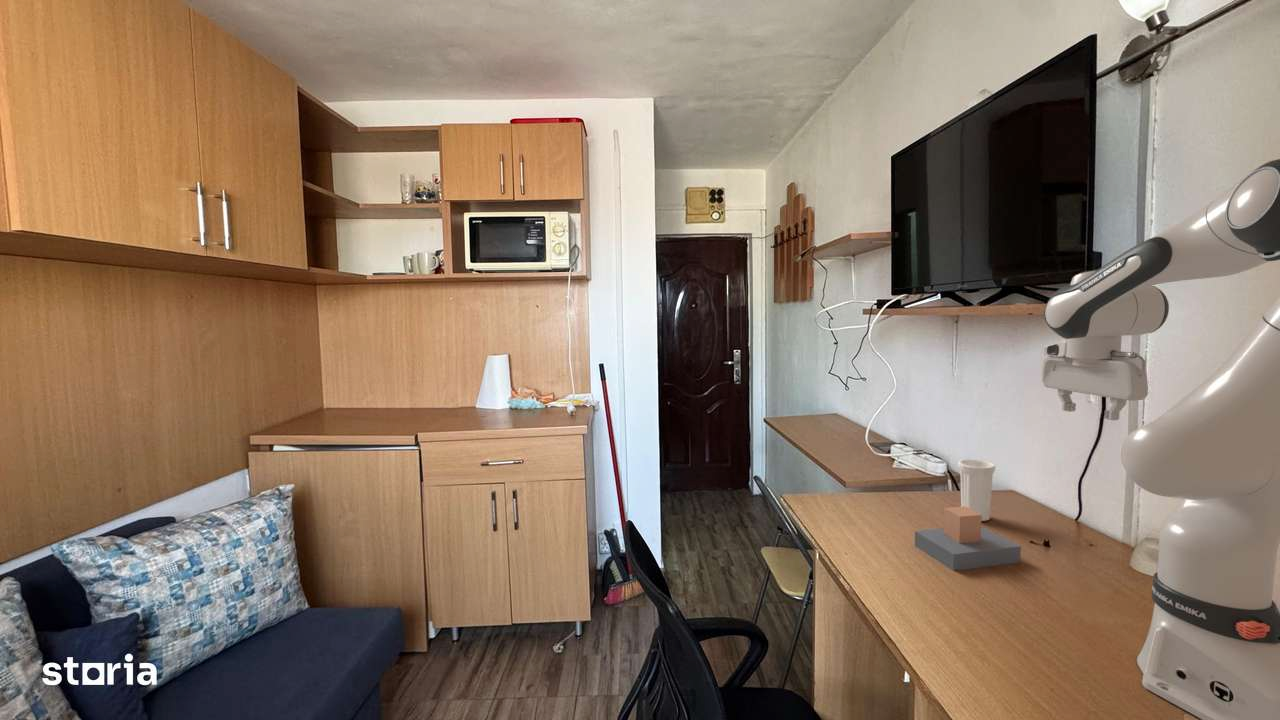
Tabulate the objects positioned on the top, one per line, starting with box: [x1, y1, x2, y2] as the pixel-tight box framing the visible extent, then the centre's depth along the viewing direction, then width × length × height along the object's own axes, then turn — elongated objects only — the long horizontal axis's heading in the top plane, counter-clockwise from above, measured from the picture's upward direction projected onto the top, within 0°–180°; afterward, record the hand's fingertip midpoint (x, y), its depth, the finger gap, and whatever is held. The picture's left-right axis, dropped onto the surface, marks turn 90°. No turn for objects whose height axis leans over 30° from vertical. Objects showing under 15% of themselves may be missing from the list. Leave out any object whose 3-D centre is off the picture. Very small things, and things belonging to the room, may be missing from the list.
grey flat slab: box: [914, 526, 1022, 572], centre depth 118 cm, size 12×16×4 cm
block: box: [943, 506, 983, 543], centre depth 118 cm, size 5×5×6 cm
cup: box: [957, 458, 996, 522], centre depth 136 cm, size 8×8×14 cm
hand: (1089, 415), depth 111 cm, fingers open, 8 cm apart
